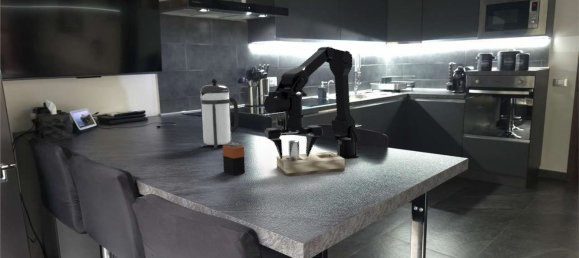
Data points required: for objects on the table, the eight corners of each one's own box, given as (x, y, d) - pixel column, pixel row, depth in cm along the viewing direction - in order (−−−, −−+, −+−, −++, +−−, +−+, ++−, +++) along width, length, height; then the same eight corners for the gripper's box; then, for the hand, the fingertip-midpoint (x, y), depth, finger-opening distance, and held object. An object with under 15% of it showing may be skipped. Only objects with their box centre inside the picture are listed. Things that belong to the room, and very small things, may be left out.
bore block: (330, 162, 143) (330, 151, 142) (344, 170, 131) (344, 158, 131) (276, 167, 137) (276, 156, 136) (286, 176, 126) (286, 164, 125)
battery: (234, 175, 128) (233, 145, 126) (223, 171, 133) (221, 142, 131) (245, 173, 131) (244, 143, 129) (234, 169, 136) (232, 140, 134)
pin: (297, 165, 135) (297, 139, 133) (301, 168, 131) (300, 141, 130) (287, 166, 134) (287, 140, 132) (290, 169, 130) (290, 142, 129)
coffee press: (234, 149, 170) (231, 78, 165) (196, 149, 170) (192, 79, 165) (239, 141, 187) (237, 77, 182) (205, 142, 187) (202, 78, 183)
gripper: (311, 107, 140) (312, 150, 142) (260, 109, 135) (261, 154, 137) (323, 110, 129) (323, 157, 132) (268, 113, 124) (269, 161, 126)
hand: (294, 157), depth 132 cm, fingers open, 9 cm apart
